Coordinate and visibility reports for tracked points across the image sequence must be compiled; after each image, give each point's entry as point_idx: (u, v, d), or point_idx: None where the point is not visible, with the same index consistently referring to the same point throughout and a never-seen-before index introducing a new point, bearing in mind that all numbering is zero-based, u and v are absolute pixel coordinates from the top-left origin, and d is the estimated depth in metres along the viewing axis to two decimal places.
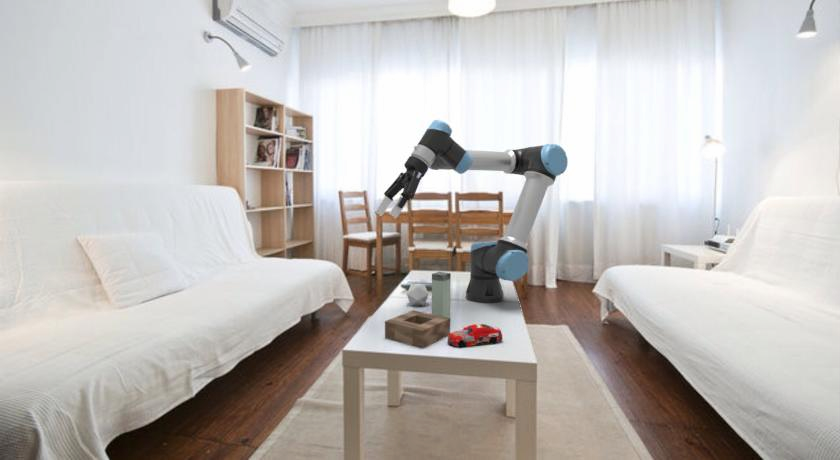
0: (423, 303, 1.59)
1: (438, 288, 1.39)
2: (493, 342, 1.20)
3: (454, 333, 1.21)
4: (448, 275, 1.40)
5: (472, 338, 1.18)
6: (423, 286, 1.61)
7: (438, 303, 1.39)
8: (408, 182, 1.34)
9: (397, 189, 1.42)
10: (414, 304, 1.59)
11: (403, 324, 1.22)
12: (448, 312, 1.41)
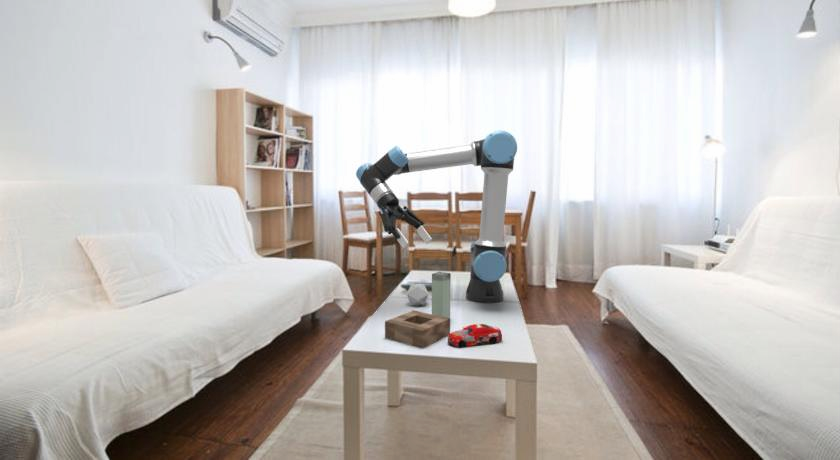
0: (423, 303, 1.59)
1: (438, 288, 1.39)
2: (493, 342, 1.21)
3: (454, 333, 1.21)
4: (448, 275, 1.40)
5: (472, 338, 1.18)
6: (423, 286, 1.61)
7: (438, 303, 1.39)
8: (389, 219, 1.47)
9: (409, 220, 1.52)
10: (414, 304, 1.59)
11: (403, 324, 1.22)
12: (448, 312, 1.41)
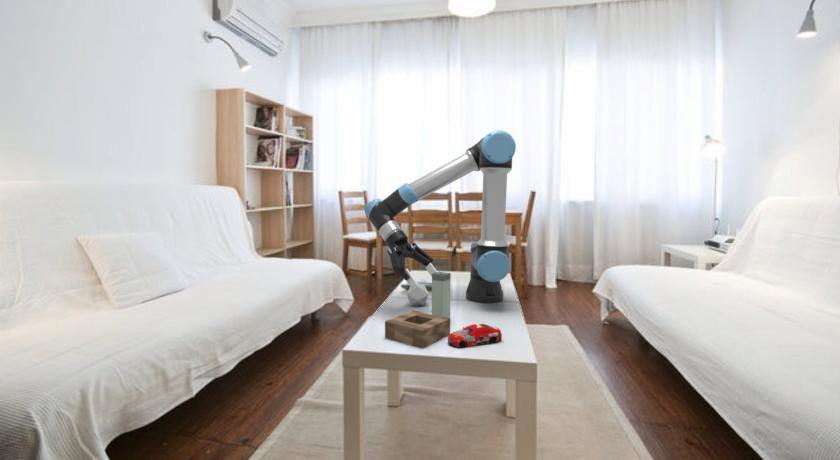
0: (423, 303, 1.59)
1: (438, 288, 1.39)
2: (493, 342, 1.21)
3: (454, 333, 1.20)
4: (448, 275, 1.40)
5: (473, 338, 1.18)
6: (423, 286, 1.61)
7: (438, 303, 1.39)
8: (398, 258, 1.45)
9: (418, 257, 1.50)
10: (414, 304, 1.59)
11: (403, 324, 1.22)
12: (448, 312, 1.41)
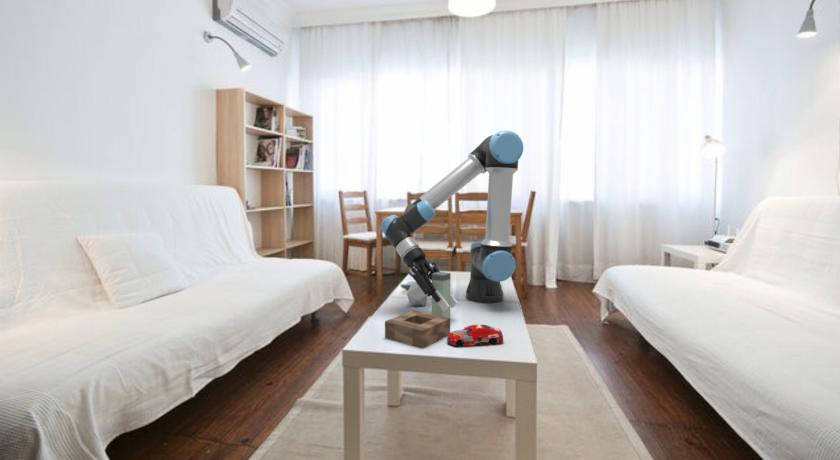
0: (423, 303, 1.59)
1: (438, 288, 1.39)
2: (493, 343, 1.20)
3: (453, 332, 1.21)
4: (448, 275, 1.40)
5: (470, 338, 1.18)
6: None
7: None
8: None
9: None
10: (414, 304, 1.59)
11: (403, 324, 1.22)
12: (448, 312, 1.41)
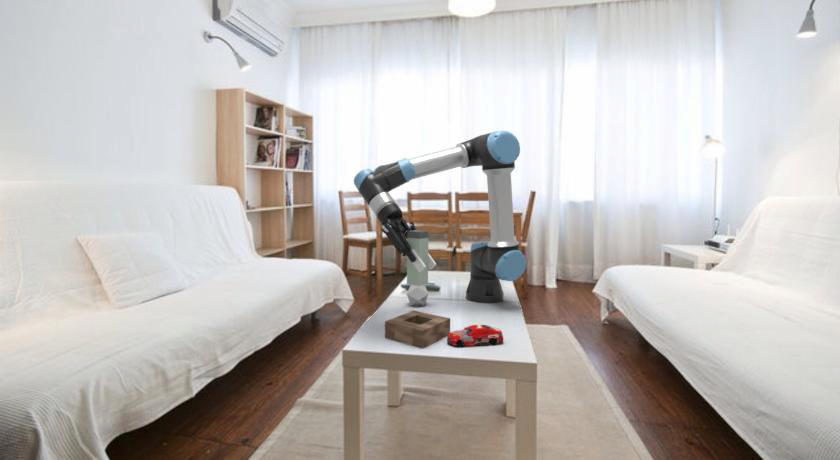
0: (423, 303, 1.59)
1: (414, 247, 1.24)
2: (493, 343, 1.19)
3: (454, 332, 1.21)
4: (426, 233, 1.25)
5: (471, 338, 1.18)
6: (423, 286, 1.61)
7: None
8: None
9: None
10: (414, 304, 1.59)
11: (403, 324, 1.22)
12: (425, 275, 1.26)
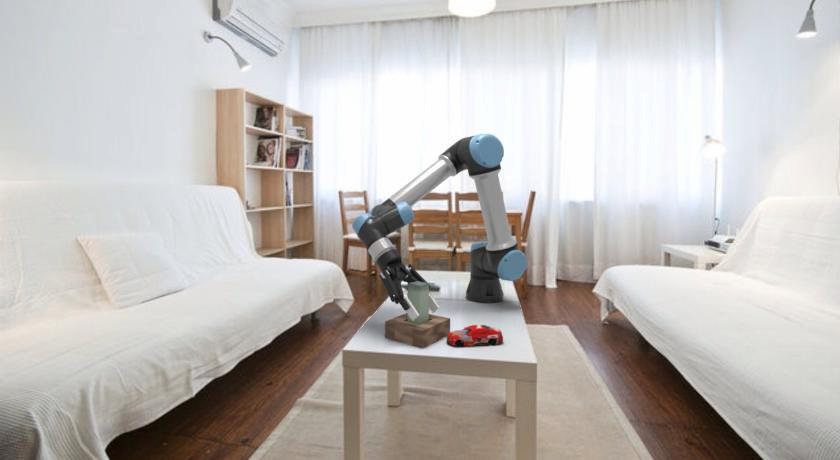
0: None
1: (415, 300, 1.24)
2: (492, 344, 1.19)
3: (453, 332, 1.21)
4: (426, 285, 1.25)
5: (470, 338, 1.18)
6: None
7: None
8: (393, 283, 1.26)
9: None
10: None
11: (403, 324, 1.22)
12: None
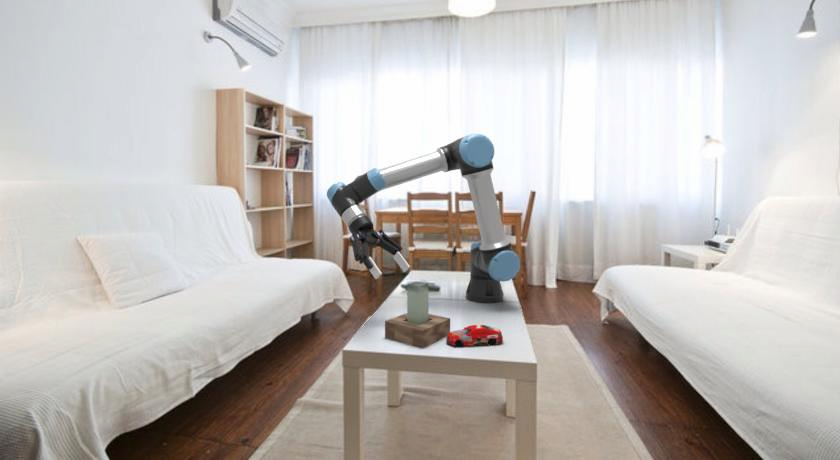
0: None
1: (414, 300, 1.24)
2: (492, 344, 1.19)
3: (453, 332, 1.21)
4: (425, 285, 1.25)
5: (470, 338, 1.18)
6: None
7: (414, 317, 1.24)
8: (362, 246, 1.32)
9: (385, 245, 1.38)
10: None
11: (403, 324, 1.22)
12: None
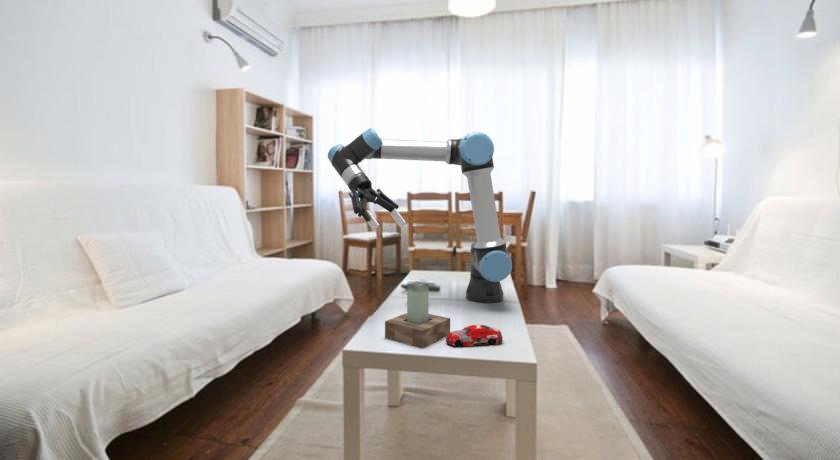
0: None
1: (414, 300, 1.24)
2: (492, 344, 1.19)
3: (453, 332, 1.21)
4: (426, 285, 1.25)
5: (469, 338, 1.18)
6: None
7: (414, 317, 1.24)
8: (360, 201, 1.40)
9: (382, 203, 1.46)
10: None
11: (403, 324, 1.22)
12: None
